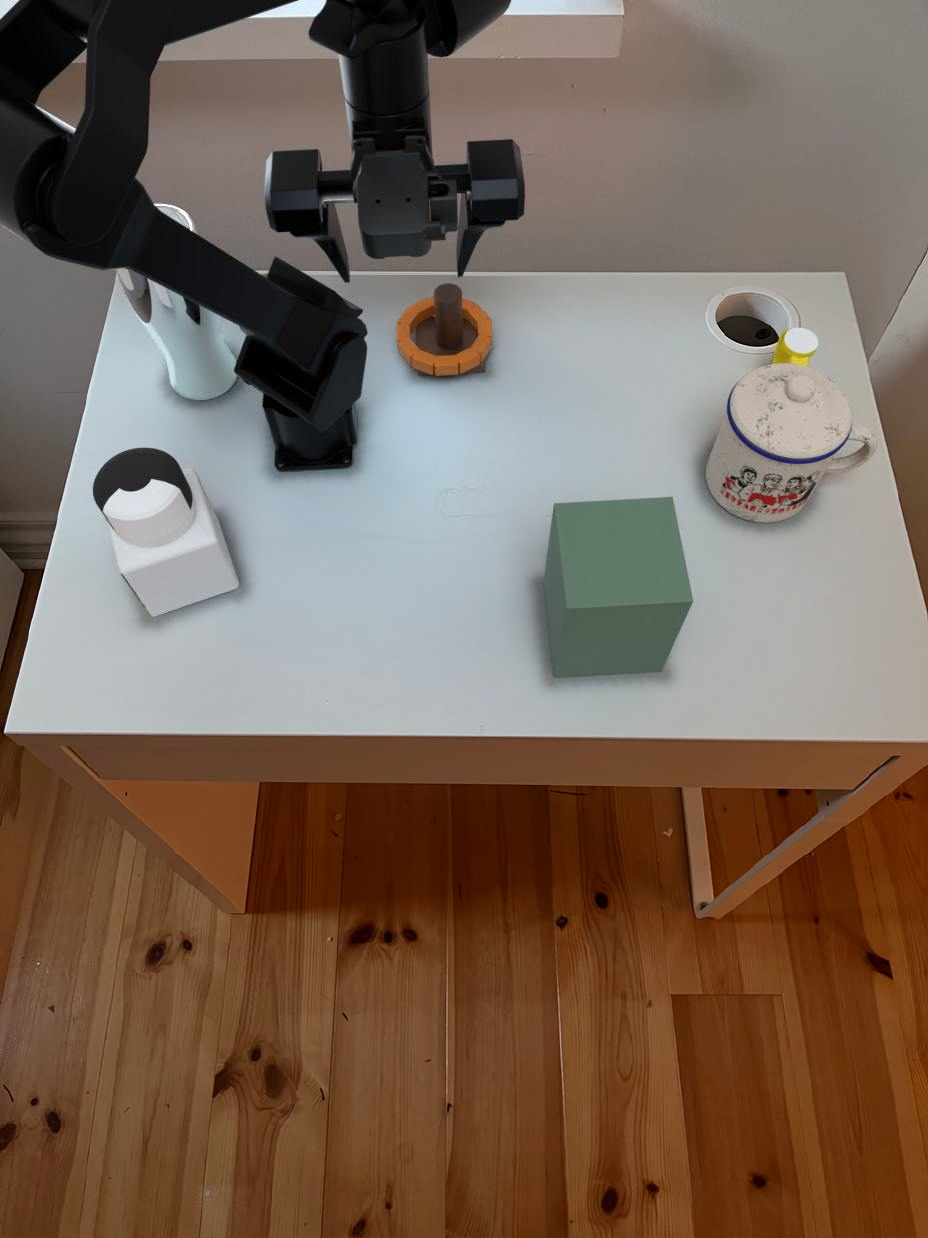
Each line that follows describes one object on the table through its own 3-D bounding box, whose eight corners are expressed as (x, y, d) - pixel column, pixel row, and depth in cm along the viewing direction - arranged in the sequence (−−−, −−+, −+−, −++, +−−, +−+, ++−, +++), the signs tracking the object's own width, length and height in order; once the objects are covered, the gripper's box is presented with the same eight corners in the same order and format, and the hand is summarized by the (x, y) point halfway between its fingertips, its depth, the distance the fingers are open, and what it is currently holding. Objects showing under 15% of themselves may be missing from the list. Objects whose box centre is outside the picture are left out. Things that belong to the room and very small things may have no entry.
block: (553, 678, 66) (566, 608, 56) (543, 584, 70) (553, 502, 60) (661, 672, 66) (693, 601, 56) (645, 578, 70) (672, 496, 60)
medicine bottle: (131, 546, 72) (71, 453, 61) (218, 518, 73) (173, 421, 62) (151, 619, 69) (91, 535, 58) (241, 589, 70) (198, 500, 59)
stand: (417, 376, 79) (413, 321, 74) (415, 326, 82) (411, 269, 76) (485, 372, 79) (486, 317, 74) (480, 323, 82) (481, 265, 76)
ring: (398, 377, 78) (397, 368, 77) (396, 307, 82) (395, 297, 81) (494, 372, 78) (495, 363, 77) (488, 302, 82) (488, 292, 81)
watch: (761, 361, 80) (781, 310, 74) (792, 363, 80) (815, 312, 74) (765, 414, 77) (786, 365, 72) (798, 416, 77) (822, 367, 71)
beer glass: (251, 347, 81) (206, 204, 68) (234, 407, 78) (184, 268, 65) (176, 343, 82) (117, 198, 68) (156, 402, 78) (91, 263, 65)
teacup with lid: (701, 522, 72) (740, 428, 62) (701, 432, 76) (736, 331, 66) (854, 535, 71) (918, 443, 61) (844, 444, 75) (903, 343, 65)
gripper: (239, 176, 56) (286, 356, 70) (538, 161, 56) (526, 343, 70) (248, 67, 61) (290, 255, 75) (522, 54, 61) (514, 243, 75)
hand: (403, 276), depth 73 cm, fingers open, 9 cm apart
